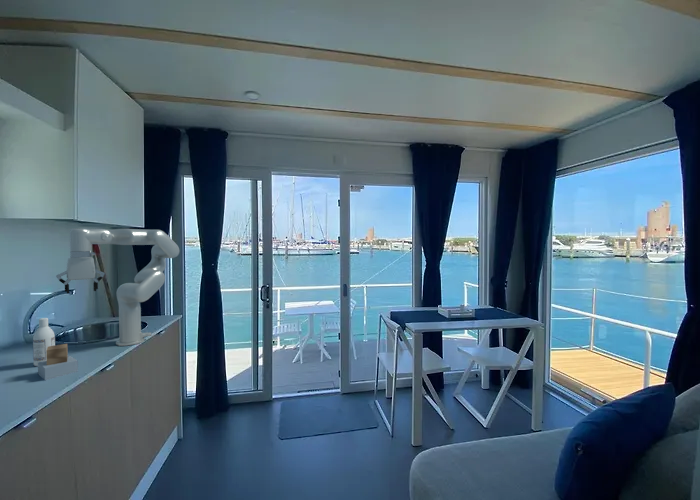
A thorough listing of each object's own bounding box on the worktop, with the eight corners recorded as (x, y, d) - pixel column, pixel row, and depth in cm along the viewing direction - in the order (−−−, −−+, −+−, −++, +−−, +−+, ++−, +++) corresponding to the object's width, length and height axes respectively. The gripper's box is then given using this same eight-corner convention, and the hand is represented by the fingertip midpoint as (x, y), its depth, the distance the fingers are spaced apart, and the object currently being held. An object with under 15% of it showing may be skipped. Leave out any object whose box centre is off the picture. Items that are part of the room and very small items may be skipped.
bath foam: (50, 359, 145) (49, 316, 145) (58, 362, 143) (57, 317, 142) (30, 365, 139) (29, 319, 139) (38, 367, 136) (37, 321, 136)
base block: (69, 367, 138) (69, 355, 138) (77, 372, 132) (77, 360, 132) (38, 374, 130) (37, 362, 130) (45, 381, 124) (44, 368, 124)
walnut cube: (67, 357, 135) (67, 343, 135) (66, 361, 131) (66, 347, 130) (48, 361, 131) (47, 346, 131) (46, 365, 127) (46, 350, 127)
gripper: (103, 254, 157) (104, 289, 157) (55, 255, 145) (56, 293, 146) (105, 254, 152) (106, 290, 152) (55, 256, 140) (56, 295, 140)
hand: (81, 291), depth 149 cm, fingers open, 9 cm apart
